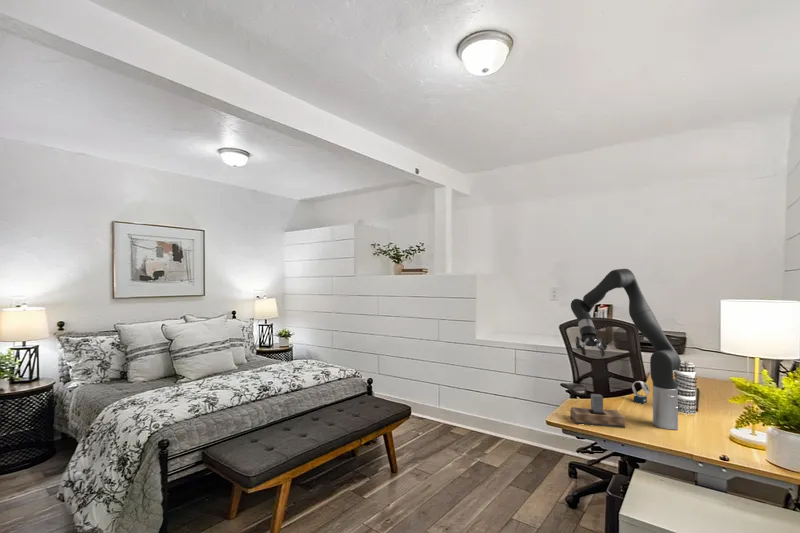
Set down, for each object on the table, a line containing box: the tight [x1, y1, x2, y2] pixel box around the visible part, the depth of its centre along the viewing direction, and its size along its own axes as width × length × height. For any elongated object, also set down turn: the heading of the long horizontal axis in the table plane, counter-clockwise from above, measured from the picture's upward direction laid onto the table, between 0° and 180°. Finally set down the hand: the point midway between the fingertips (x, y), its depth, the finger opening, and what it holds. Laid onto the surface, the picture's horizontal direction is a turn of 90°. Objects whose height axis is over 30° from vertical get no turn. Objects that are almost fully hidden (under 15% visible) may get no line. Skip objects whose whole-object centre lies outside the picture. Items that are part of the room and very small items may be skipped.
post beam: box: [570, 406, 626, 429], centre depth 180 cm, size 20×10×4 cm, turn 81°
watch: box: [631, 380, 650, 405], centre depth 212 cm, size 6×8×11 cm
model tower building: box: [673, 360, 698, 414], centre depth 197 cm, size 9×9×25 cm
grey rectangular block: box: [590, 393, 604, 415], centre depth 181 cm, size 4×4×11 cm
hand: (593, 355), depth 200 cm, fingers open, 8 cm apart
